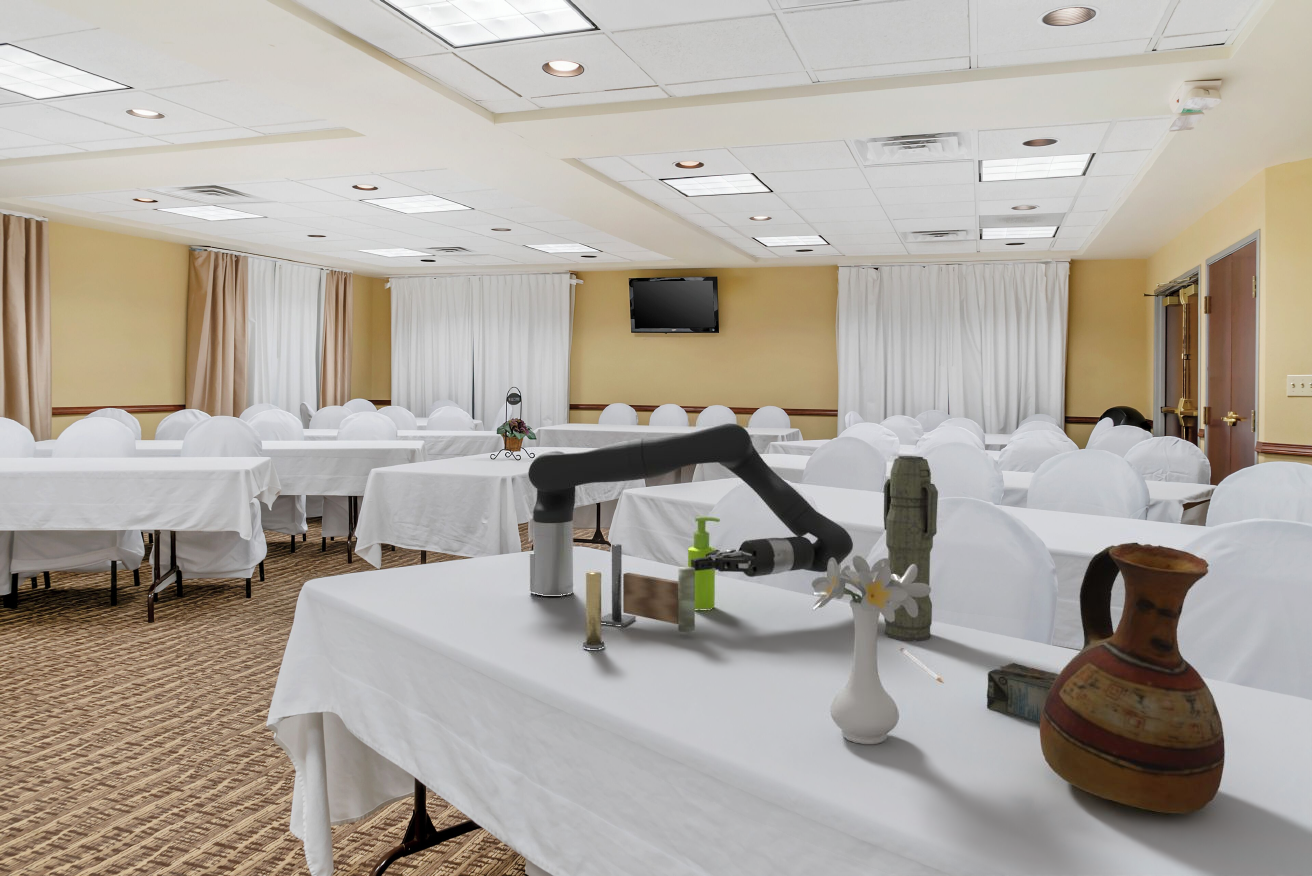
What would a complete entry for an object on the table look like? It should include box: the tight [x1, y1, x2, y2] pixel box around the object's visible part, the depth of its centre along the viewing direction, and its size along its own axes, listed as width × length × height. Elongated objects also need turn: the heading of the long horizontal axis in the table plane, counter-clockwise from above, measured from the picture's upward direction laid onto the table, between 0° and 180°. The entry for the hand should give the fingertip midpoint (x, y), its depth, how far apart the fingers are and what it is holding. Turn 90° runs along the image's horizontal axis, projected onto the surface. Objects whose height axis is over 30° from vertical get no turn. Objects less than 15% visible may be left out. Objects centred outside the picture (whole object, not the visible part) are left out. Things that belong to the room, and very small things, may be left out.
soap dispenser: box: [687, 516, 721, 610], centre depth 196 cm, size 6×7×20 cm
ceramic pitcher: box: [1039, 542, 1226, 814], centre depth 107 cm, size 20×20×30 cm
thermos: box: [883, 455, 939, 642], centre depth 174 cm, size 9×12×35 cm
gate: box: [622, 566, 696, 633], centre depth 177 cm, size 17×3×12 cm, turn 51°
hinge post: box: [601, 543, 637, 627], centre depth 184 cm, size 6×6×16 cm
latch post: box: [582, 571, 605, 649], centre depth 166 cm, size 4×4×14 cm
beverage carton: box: [986, 662, 1060, 725], centre depth 130 cm, size 8×19×7 cm, turn 40°
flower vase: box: [811, 555, 932, 745], centre depth 124 cm, size 13×18×25 cm
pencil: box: [899, 647, 944, 684], centre depth 156 cm, size 1×19×1 cm, turn 5°
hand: (693, 564), depth 177 cm, fingers closed
